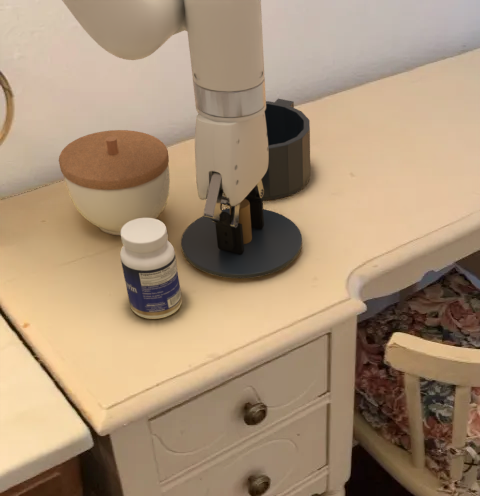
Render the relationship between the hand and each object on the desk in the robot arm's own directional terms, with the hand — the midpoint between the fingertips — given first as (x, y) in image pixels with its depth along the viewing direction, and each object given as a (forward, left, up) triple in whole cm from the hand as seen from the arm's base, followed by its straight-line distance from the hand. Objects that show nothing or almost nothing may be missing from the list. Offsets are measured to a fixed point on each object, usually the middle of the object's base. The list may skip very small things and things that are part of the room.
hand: (241, 236), depth 102 cm
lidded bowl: (-16, 0, -2) cm, 16 cm away
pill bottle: (-4, -14, -2) cm, 15 cm away
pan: (-5, +17, -2) cm, 18 cm away
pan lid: (0, 0, -1) cm, 1 cm away
